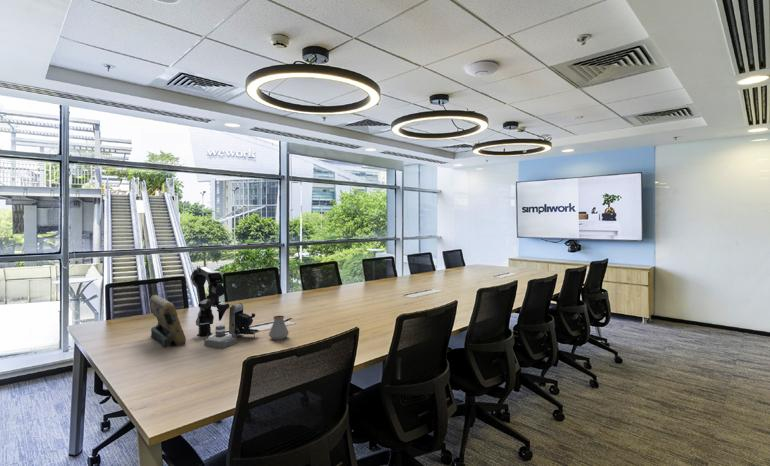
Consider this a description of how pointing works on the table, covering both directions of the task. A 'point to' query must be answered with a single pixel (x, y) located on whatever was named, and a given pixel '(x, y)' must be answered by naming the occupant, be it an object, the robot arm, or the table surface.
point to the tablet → (166, 323)
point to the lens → (220, 331)
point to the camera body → (220, 341)
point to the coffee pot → (279, 328)
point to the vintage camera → (240, 321)
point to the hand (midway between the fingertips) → (213, 319)
